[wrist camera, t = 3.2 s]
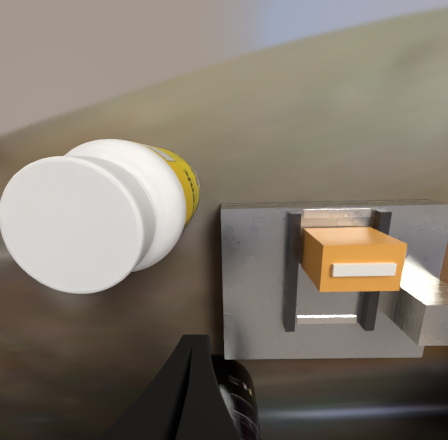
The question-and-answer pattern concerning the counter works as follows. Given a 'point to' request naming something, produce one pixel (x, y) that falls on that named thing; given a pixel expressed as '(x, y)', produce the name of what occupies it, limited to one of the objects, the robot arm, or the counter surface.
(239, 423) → the supplement bottle
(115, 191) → the supplement bottle
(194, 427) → the robot arm
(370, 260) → the orange cuboid
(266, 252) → the strip
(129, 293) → the counter surface
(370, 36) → the counter surface
